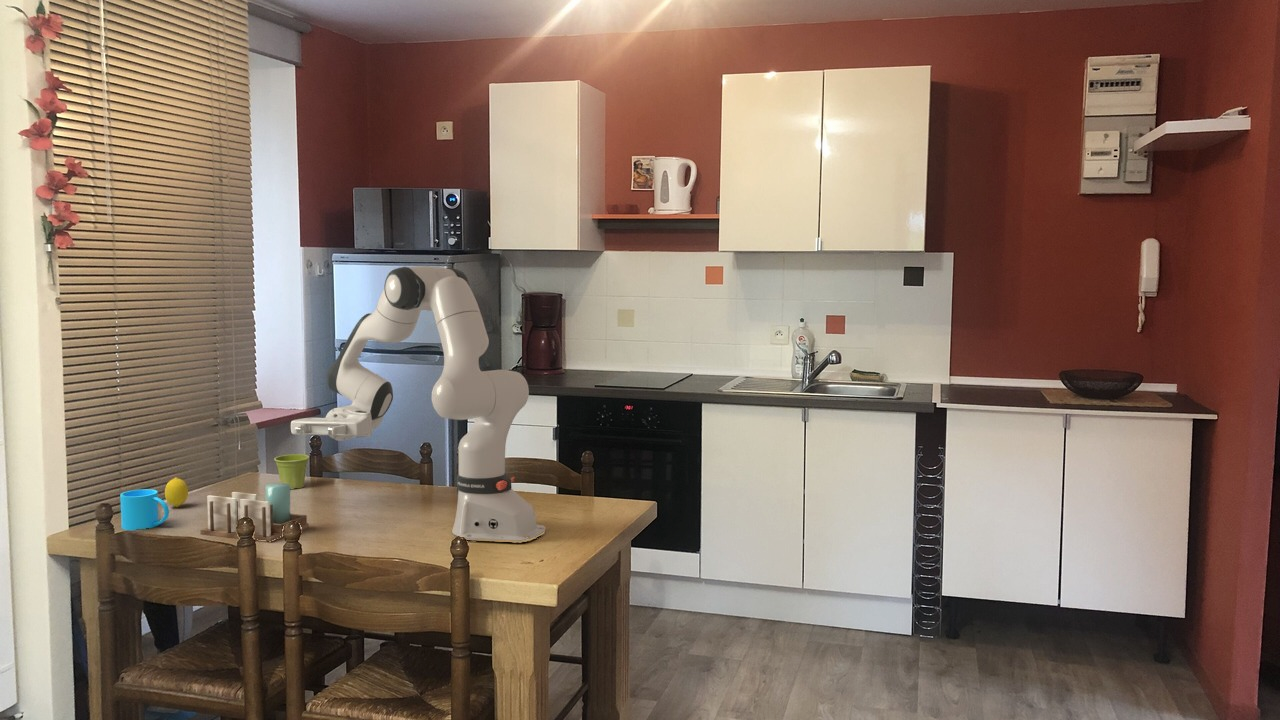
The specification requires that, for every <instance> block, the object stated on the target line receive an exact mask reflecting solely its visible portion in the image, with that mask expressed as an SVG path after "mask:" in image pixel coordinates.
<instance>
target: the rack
mask: <svg viewBox="0 0 1280 720" xmlns="http://www.w3.org/2000/svg"><path fill="white" fill-rule="evenodd" d="M206 501H207V503H206V505H207V527H205V528H202V529H200V530H199V531H200V535H206V536H213V537H222V538H230V539H237V540H239V539H238V536H237V533H236V525H237V522H238V520H239V519H241V518H243V517H249V518H251V519H252V520H253V522H254V524H255V534H254V538H255V540H257V539H258V540H266V541H272V540H274V539H277V538H280V536H281V539H283V538H282V529H283V526H284V525H285V524H286V523H287V522H285V523H282V524H275V523H273V505H270V502H266V500H258V493H257V494H256V493H246V492H238V491H233V492H231V497H227V496H218V495H217V496H216V495H209V494H208V495H207V496H206ZM290 521H297V522H298V523H300V525H301V527H302V529H303V530H305V529H308V528H309V527H310V526H309V523H308V517H307V515H306V514H298V513H291V512H290ZM288 522H289V521H288Z"/></svg>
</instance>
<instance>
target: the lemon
mask: <svg viewBox="0 0 1280 720" xmlns="http://www.w3.org/2000/svg"><path fill="white" fill-rule="evenodd" d="M188 495H189V489H188V484H187V483H186V482H185V481H184V480H183V479H181V478H178V477H176V476H175V477H174V478H172V479H170V480H169V481H168V482H167V484H166V485H165V488H164V497H165V499H166V502H167V503H168V504H170V505H172V506H173V507H175V508H179V507H180V506H181V505H183V504H184V503H185V502H187V499H188Z"/></svg>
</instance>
